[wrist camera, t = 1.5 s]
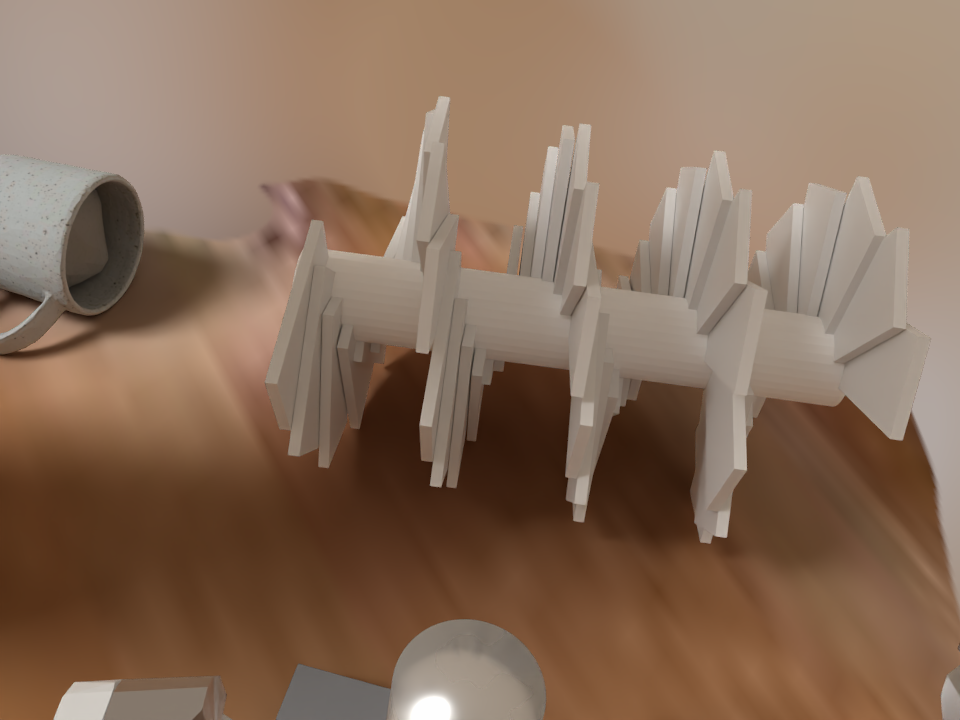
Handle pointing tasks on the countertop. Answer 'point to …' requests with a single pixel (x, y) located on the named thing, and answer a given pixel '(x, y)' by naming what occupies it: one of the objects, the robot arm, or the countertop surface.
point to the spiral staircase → (608, 318)
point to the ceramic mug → (65, 241)
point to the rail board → (332, 697)
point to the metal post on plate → (466, 676)
